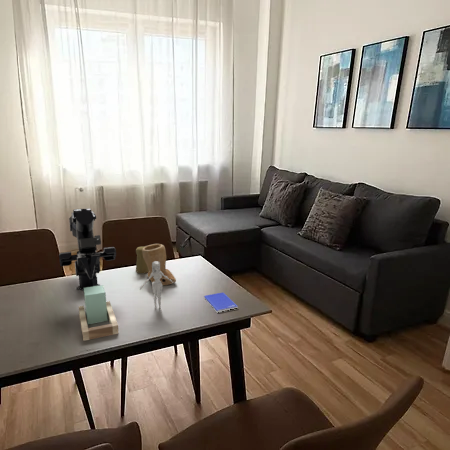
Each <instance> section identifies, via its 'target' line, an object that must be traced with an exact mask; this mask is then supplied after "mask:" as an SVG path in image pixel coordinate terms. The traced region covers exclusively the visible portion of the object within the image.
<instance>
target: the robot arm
mask: <svg viewBox="0 0 450 450" xmlns="http://www.w3.org/2000/svg"><path fill="white" fill-rule="evenodd" d="M96 220H97V215H96V214H95V212H94V211H93V210H92V208H90V207H89V208H75V209H73V210H72V212H71V216H70V217H69V218H68V222H69V223H68V224H69V232H71V235H72V236H73V237H75V238H76V240H77V247H78V250H77V251H76V254H72V251H65V252H60V253H59V254H58V260H59V266H60V267H69V266H71V265H72V264H73V261H74V270H75V276H76V277H78V284H79V285H78V286H76V290H80V291H83V292H84V288H86V287H93V286H100V285H101V284H100V283H98V276H97V274H99V273H100V272H101V262H100V260H101V258H103V260H104V261H106V262H108V261H114V260H116V257H117V249H116V248H115V247H114V246H109V247H103V251H97V246H99V245H101V244H102V240H101V239H102V238H101V235H100V234H98V235H97V234H96V235H94V230H93V229H94V225H95V221H96Z"/></svg>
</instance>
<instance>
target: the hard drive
mask: <svg viewBox="0 0 450 450" xmlns="http://www.w3.org/2000/svg"><path fill="white" fill-rule="evenodd" d="M204 298H205V299H206V300H205V299H204ZM203 299H204V300H205V301H206V302H207V303H208V305H210V307H211V306H212V307H213V308H212V307H211V308H212V310H213V311H214V312H216V313H217V314H218V312H219V313H223V312H222V311H224V312H226V311H225V310H229V311H231V310H230V309H234V308H238V309H239V306H238V305H237V304H236V303H235V302H234V301H233V299H231V298H230V297H229V296H228V295H227V294H225V292H218V293H212V294H207V295H204V296H203ZM234 310H235V309H234Z"/></svg>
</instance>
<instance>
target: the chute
mask: <svg viewBox="0 0 450 450" xmlns="http://www.w3.org/2000/svg"><path fill="white" fill-rule="evenodd" d="M84 306H85V305H79V306H78V315H79V323H80V328H81V333H82V340H83V341H85V342H86V341H89V340H93V339H98V338H104V337H109V336H113V335H117V334H120V333H119V324H118V321H117V318H116V315H115V312H114V310H113V307H112V304H111V301H110V300H109V301H106V306H107V321H108V324H103V325H98V326H93V327H89V325H88V323H87V318H86V309H85V307H84Z"/></svg>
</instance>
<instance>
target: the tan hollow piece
mask: <svg viewBox="0 0 450 450" xmlns="http://www.w3.org/2000/svg"><path fill="white" fill-rule="evenodd" d="M143 247H144V248H143V249H142V253H143V258H144V260H145V262H146V264H147V266H148V269H149V272H147V277H148V278H149V276H150V275H151V273H152V263H153V262H155V261H158V262H160V271H161V272H162V273H163V274H164V276H167V277H168V278H169V279H170V280H171V281H172V282H173V283H176V282H177V279H176V277H175V276H174V274H173V272H171V270H169V269H168V268H166V265H167V251H166V247H165V245H164V244H162V243H153V244H149V245H145V246H143ZM161 276H162V278H161V279H160V281H161V283H162V286H167V285H169V286H170V285H171V284H173V283H172V282H171V281H170V280H168V279H167V278H165V277H164V276H163V275H161ZM149 281H151V284H152V283H153V282H155V279H154V278H153V276H152V277H151V278H150V279H149Z"/></svg>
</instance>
